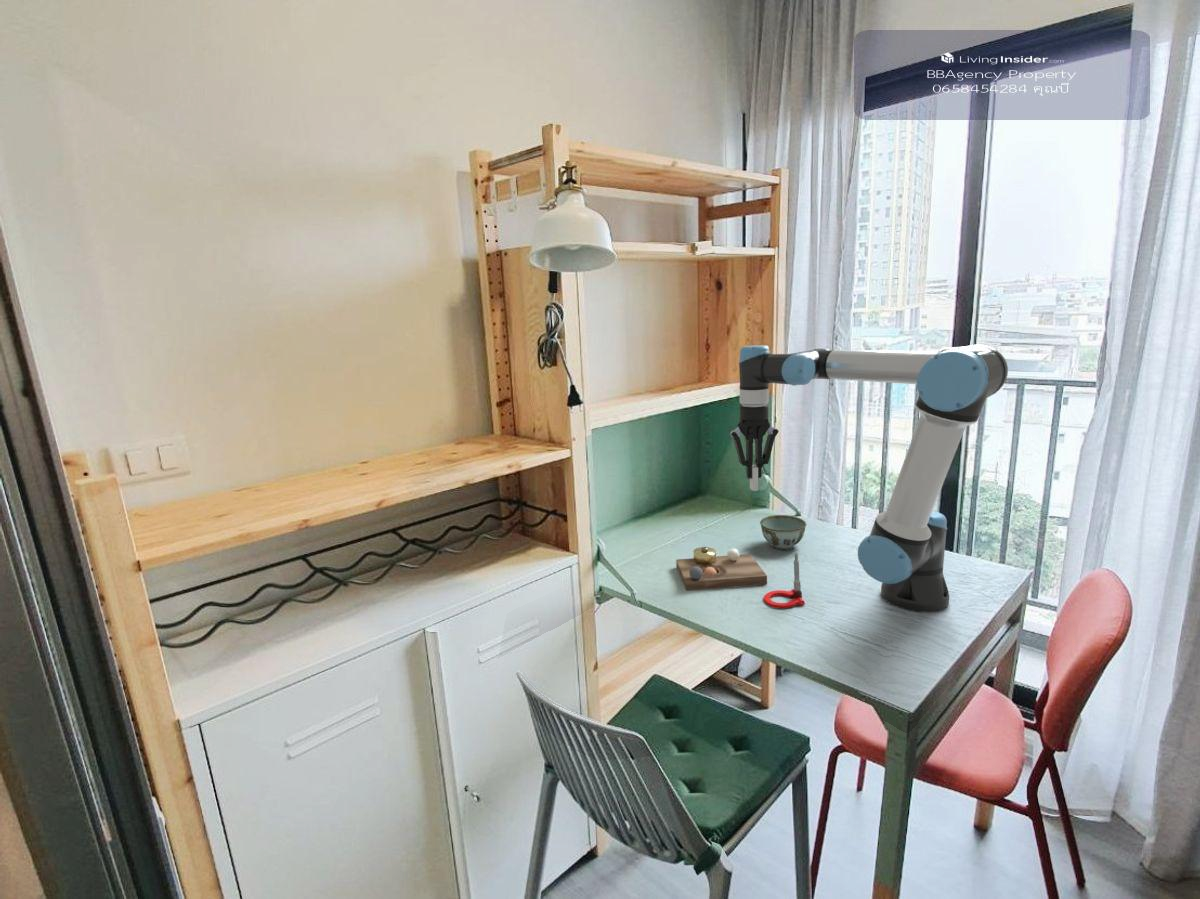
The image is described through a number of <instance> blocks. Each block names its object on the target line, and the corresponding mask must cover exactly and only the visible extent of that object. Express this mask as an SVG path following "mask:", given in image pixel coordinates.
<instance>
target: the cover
mask: <svg viewBox="0 0 1200 899" xmlns="http://www.w3.org/2000/svg"><path fill="white" fill-rule="evenodd" d="M716 557H717V551H716V549H715V548H712V547H709V546H708V547H707V546H701V547H700V546H699V547H696V548H695V549H693V558H694V561H695V562H697V563H700V564H711V563H714V562H715V561H716Z"/></svg>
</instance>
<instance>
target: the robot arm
mask: <svg viewBox="0 0 1200 899" xmlns="http://www.w3.org/2000/svg"><path fill="white" fill-rule="evenodd" d="M738 370H739V404H740V406H739V422H738V424H737V427H736V428H735V429H733V430H730V431H729V435H730V436H731V438H732V439H733V442H734V446H735V450H736V454H737V458H738V462H739V464H740V465H742V466H743V467H746V468H745V472H746V474H745V475H746V478H747V479H749V489H750V490H751V491H752V492H757V491H759V478H760V479H761V478H762V474H763V473H762V468H763V466H764V465H768V464H769V463H770V459H771V455H772V454H771V453H772V450H773V447H774V446H773V445H774V442H775V439H776V437H777V435H778V434H779V429H777V428H775V427H773V426H772V425H771V423H770V421H769V418H770V417H769V414H770V413H769V412H770V410H769V409H770V408H769V405H768V404H769V402H770V401H769V400H770V396H769V393H770V392H769V390H770V389H769V388H770V384H777V385H778V384H779V385H791V386H804V385H805V386H806V385H808V384H809V383H811V381H812V380H836V381H837V380H840V381H841V380H842V381H855V382H856V381H857V382H874V383H890V384H905V385H906V384H907V385H916V391H917V393H918V394H919V395H918V397H917V400H916V403H915V408H916V410H917V411H918V413H919V418H918V420H917V423H916V427H915V429H914V432H913V435H912V438H911V441H910V443H909V446H908V449H907V452H906V454H905V458H904V460H903V463H902V465H901V468H900V472H899V474H898V477H897V479H896V482H895V485H894V488H893V491H892V494H891V497H890V499H889V502H888V505H887V506H886V507H887V508H886V510H885V511H882V512H879V513H878V514H877V515H876V517H875V520H874V522H873V526H872V528H871V531H870V534H869V535H868V536H866V537H864V538H863V539H862V541H861V542H860V543H859V545H858V547H857V558H858V559H857V560H858V561H859V564H860V565H861V567H862V569H863V571H864V572H865V573H866V574H867V575H868V576H869V577H871V578H872V579H874V580H876V581H877V582H879V583H881V584H880V586H881V587H880V596H881V597H882V598H883V600H885V601H886V602H887V603H889V604H891V605H893V606H894V607H896V608H899V609H902V610H906V611H910V612H917V613H936V612H941V611H944V610H945V609H946V608H948V606H949V603H950V592H949V589H948V586H947V582H946V579H945V575H944V564H945V550H946V540H947V538H946V537H947V530H948V527H947V518H946V516H945V515H944V514H943V513H941V512H938V511H935V510H934V508H935V505H936V503H937V500H938V498H939V495H940V493H941V490H942V488H943V486H944V483H945V480H946V478H947V475H948V473H949V470H950V467H951V465H952V462H953V459H954V457H955V454H956V453H957V450H958V447H959V444H960V442H961V440H962V437H963V434H964V432H965V429H966V428H967V427H969V426H970V425H973V424H975V423H977V422H978V419H979V417H980V414H981V412H982V409H983V408H984V405H985V402H986V400H987V398H989V397H991V396H993V395H996V394H997V393H998V392H999V391H1000V390H1001V389H1002V387H1003V386H1004V384H1005V383H1006V380H1007V378H1008V375H1009V374H1008V373H1009V367H1008V362H1007V359H1006V358H1005V357H1004V356H1003V355H1002V353H1001V352H1000V351H998V350H997V349H995V348H993V347H992V346H988V345H986V344H969V345H966V346H956V347H955V346H953V347H952V346H951V347H949V346H948V347H947V346H944V347H942V348H940V349H939V350H938V351H918V350H917V351H915V350H911V351H909V350H906V351H905V350H859V349H858V350H857V349H856V350H853V349H851V350H850V349H848V350H847V349H829V348H813V349H811V350H807V351H798V352H793V353H792V352H791V353H770V348H769V346H768V345H765V344H763V345H762V344H759V345H758V344H757V345H756V344H755V345H754V344H753V345H744V346H742V347H741V348H740V349H739V362H738ZM766 433H767V436H766V439H765V440H766V441H765V443H764V442H763V441H764V440H763V439H764V436H765V435H766ZM741 434H742V435H743V436H744V438H745V439H744V440H745V452H744V449H743V444H742V442H741V438H740V436H741ZM763 443H764V449H763ZM753 447H754V448H753ZM753 450H754V451H753ZM753 452H754V453H753ZM753 454H754V457H753ZM753 459H754V460H753ZM753 461H754V462H753Z"/></svg>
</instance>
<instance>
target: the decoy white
mask: <svg viewBox="0 0 1200 899" xmlns="http://www.w3.org/2000/svg"><path fill="white" fill-rule="evenodd" d="M740 555H741V553H740V551H739V550H738V549H736V548H735V547H734V548H730V549H728V551H727V555H726V556H728V558H729V559H730V560H732V561H736V560H738V558H739V556H740Z"/></svg>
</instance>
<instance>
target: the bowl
mask: <svg viewBox="0 0 1200 899" xmlns="http://www.w3.org/2000/svg"><path fill="white" fill-rule="evenodd" d="M759 521H760V522H759V524H760V526H761V532H762V536H763V537H764V539H765V541H767V542H768V544H770V545H771V546H772V547H773V548H774V549H776V550H780V551H790V550H793V547H794V546H796V545H797V544H799V543H800V542H801V541H802V539H803V537H804V535H805V530H806V527H807V522H806V521H805V520H804V519H803V518H800V517H797V516H793V515H787V514H786V515H785V514H784V515H783V514H778V515H777V514H775V515H769V516H766V517H763V518H762V519H761V520H759Z"/></svg>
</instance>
